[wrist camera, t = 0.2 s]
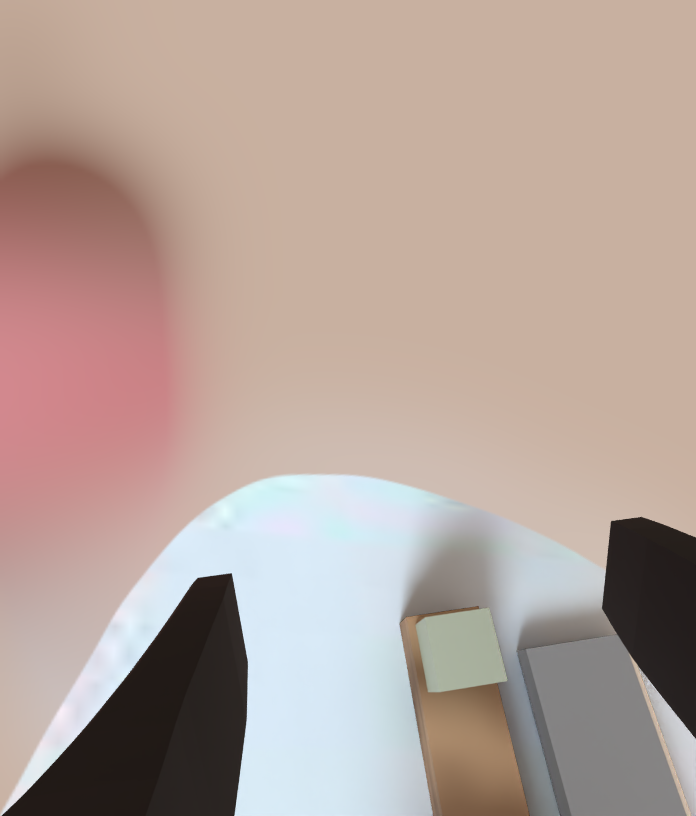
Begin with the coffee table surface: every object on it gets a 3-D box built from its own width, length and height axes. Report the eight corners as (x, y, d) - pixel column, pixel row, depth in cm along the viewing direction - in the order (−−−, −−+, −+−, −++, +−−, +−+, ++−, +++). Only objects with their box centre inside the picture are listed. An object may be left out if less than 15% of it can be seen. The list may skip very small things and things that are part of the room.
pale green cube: (489, 682, 34) (507, 680, 30) (428, 692, 33) (439, 692, 30) (473, 616, 36) (489, 607, 32) (415, 624, 35) (424, 617, 32)
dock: (731, 971, 30) (755, 989, 29) (609, 999, 30) (627, 1019, 28) (613, 635, 39) (627, 632, 37) (516, 651, 38) (525, 649, 36)
